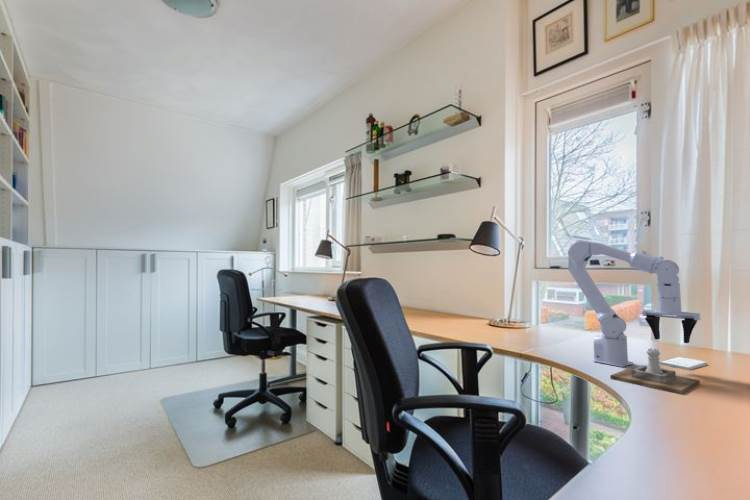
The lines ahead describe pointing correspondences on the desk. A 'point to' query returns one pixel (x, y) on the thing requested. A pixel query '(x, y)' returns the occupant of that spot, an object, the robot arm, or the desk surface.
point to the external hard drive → (683, 363)
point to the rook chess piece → (654, 362)
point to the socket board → (656, 379)
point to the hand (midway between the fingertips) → (671, 340)
